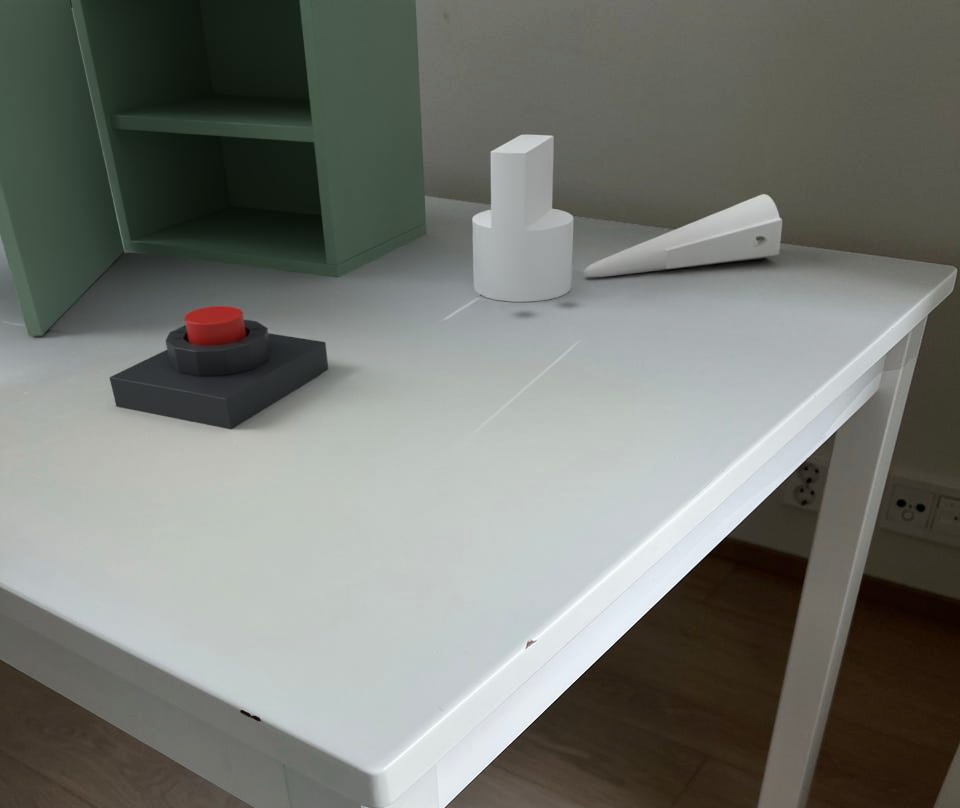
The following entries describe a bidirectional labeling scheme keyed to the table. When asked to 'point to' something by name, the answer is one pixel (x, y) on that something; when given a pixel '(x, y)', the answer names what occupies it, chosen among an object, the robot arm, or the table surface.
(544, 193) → the cylinder with rectangular tab
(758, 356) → the table surface
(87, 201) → the door
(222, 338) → the button
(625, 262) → the white tapered wedge
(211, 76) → the cupboard
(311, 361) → the button box
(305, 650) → the table surface
